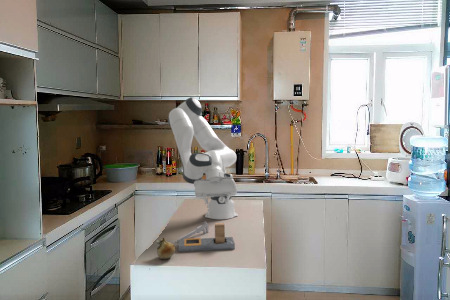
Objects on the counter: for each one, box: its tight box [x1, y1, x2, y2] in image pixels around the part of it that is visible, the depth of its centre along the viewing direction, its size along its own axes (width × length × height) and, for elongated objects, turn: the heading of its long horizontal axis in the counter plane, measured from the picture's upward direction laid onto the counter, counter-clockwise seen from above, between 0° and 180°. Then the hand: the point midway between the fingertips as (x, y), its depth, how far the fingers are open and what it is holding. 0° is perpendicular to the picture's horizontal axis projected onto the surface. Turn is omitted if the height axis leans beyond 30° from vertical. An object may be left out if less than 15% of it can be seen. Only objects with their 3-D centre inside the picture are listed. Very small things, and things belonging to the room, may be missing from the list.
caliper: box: [174, 221, 209, 244], centre depth 181 cm, size 20×1×6 cm, turn 137°
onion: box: [155, 237, 176, 260], centre depth 154 cm, size 8×8×8 cm
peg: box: [214, 222, 226, 243], centre depth 167 cm, size 4×4×10 cm
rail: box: [178, 236, 236, 253], centre depth 166 cm, size 9×24×3 cm, turn 95°
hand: (216, 202), depth 178 cm, fingers open, 8 cm apart
